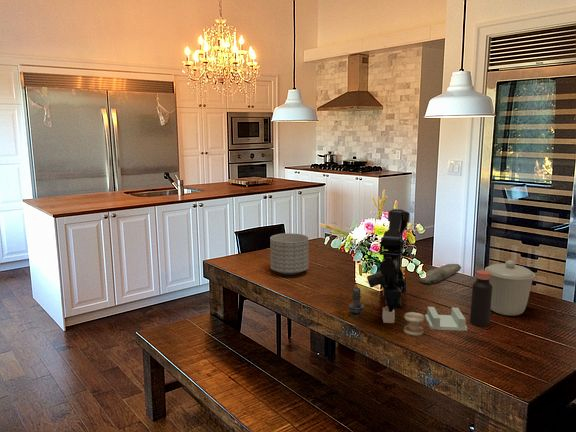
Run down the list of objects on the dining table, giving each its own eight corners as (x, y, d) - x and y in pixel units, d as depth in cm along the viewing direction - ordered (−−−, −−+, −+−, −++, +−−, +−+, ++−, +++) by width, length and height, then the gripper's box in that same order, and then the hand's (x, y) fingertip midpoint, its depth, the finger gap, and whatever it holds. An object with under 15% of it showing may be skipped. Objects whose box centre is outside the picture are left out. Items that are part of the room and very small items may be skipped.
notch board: (424, 317, 184) (425, 306, 184) (459, 318, 183) (460, 307, 182) (430, 329, 174) (431, 318, 173) (467, 330, 173) (468, 319, 172)
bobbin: (402, 327, 176) (403, 311, 174) (421, 327, 175) (422, 312, 174) (405, 335, 169) (405, 319, 168) (425, 336, 168) (426, 320, 167)
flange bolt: (353, 310, 191) (354, 281, 189) (366, 313, 188) (367, 284, 185) (345, 314, 187) (346, 285, 185) (358, 318, 183) (359, 289, 181)
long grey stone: (466, 273, 243) (447, 270, 250) (466, 263, 243) (447, 260, 249) (434, 286, 218) (414, 282, 225) (434, 275, 217) (414, 271, 224)
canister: (532, 307, 194) (537, 258, 190) (529, 323, 178) (534, 270, 174) (485, 299, 203) (489, 251, 199) (478, 314, 188) (482, 262, 183)
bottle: (477, 327, 175) (482, 275, 171) (466, 320, 182) (469, 270, 178) (493, 325, 177) (497, 274, 173) (481, 318, 183) (485, 268, 179)
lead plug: (382, 318, 184) (383, 305, 182) (393, 318, 183) (393, 305, 182) (383, 322, 180) (384, 309, 179) (394, 323, 179) (394, 309, 178)
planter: (308, 278, 230) (308, 242, 226) (269, 278, 230) (269, 242, 226) (307, 267, 248) (308, 233, 245) (271, 266, 249) (271, 233, 245)
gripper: (367, 259, 187) (365, 297, 190) (370, 275, 169) (369, 316, 172) (395, 260, 186) (394, 298, 189) (402, 275, 168) (400, 317, 171)
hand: (388, 307), depth 180 cm, fingers open, 9 cm apart
